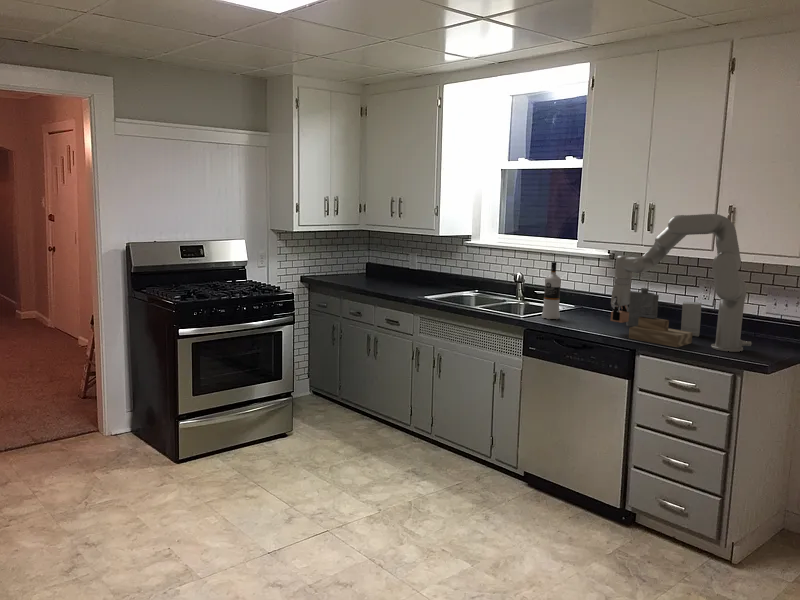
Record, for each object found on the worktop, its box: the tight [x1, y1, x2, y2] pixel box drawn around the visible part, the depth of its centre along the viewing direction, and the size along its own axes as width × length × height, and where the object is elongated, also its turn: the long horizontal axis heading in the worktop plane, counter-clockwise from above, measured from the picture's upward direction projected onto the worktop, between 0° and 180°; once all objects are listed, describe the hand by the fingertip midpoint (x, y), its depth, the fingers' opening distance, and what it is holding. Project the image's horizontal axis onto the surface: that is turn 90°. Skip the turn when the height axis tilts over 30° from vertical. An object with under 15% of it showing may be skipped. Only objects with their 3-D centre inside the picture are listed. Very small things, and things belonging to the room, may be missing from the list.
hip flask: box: [625, 287, 660, 327], centre depth 339 cm, size 16×4×20 cm, turn 39°
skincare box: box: [680, 301, 702, 337], centre depth 324 cm, size 8×7×16 cm
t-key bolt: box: [633, 306, 658, 319], centre depth 314 cm, size 6×10×5 cm, turn 42°
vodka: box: [541, 261, 562, 320], centre depth 358 cm, size 9×9×30 cm
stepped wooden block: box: [628, 317, 693, 348], centre depth 309 cm, size 14×23×10 cm, turn 42°
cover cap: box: [609, 310, 629, 324], centre depth 324 cm, size 6×6×4 cm
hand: (619, 319), depth 324 cm, fingers closed on cover cap, 6 cm apart
